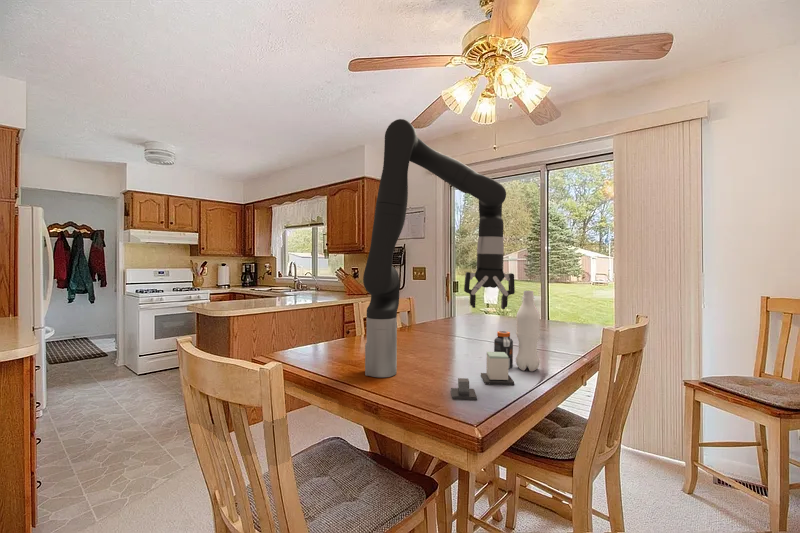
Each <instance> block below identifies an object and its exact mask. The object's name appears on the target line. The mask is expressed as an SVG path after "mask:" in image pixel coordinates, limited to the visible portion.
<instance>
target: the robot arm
mask: <svg viewBox="0 0 800 533" xmlns="http://www.w3.org/2000/svg"><path fill="white" fill-rule="evenodd" d="M383 151H384V152H383V163H382V164H383V166H382V172H381V176H380V182H379V186H378V191H377V196H376V202H375V209H374V217H373V218H374V219H373V224H372V232H371V239H370V248H369V252H368V257H367V260H366V263H365V264H366V265H365V268H364V272H363V278H362V282H363V287H364V289H365V290H366V292H367V293H368V294H369V295H370V301H369V304H368V306H367V308H366V341H365V345H364V350H365V351H364V354H365V355H364V374H365V377H366V376H367V377H368V376H369V377H373V378H389V377H393V376H395V375H396V374H397V372H398V371H397V366H398V365H397V361H398V359H397V355H398V354H397V350H398V349H397V346H398V345H397V342H398V340H397V339H398V333H397V332H398V330H397V328H398V326H397V325H398V322H397V320H398V319H397V318H398V309H399V305H400V284H401V283H400V276H399V273H398V271H397V269H396V268H395V267H394V266H393V260H394V259H393V258H394V251H395V247H396V245H397V242H398V240H399V238H400V236H401V233H402V231H403V228H404V225H405V222H406V216H407V209H408V208H407V207H408V198H409V182H408V181H409V179H408V175H409V174H408V172H409V166H410V162H411V163H413V164H415V165H417V166H419V167H421V168H424V169H425V170H427V171H429V172H430V173H432V174H433V175H435V176H436V177H438V178H439V179H441V180H442V181H444V182H445V183H447V184H448V185H450V186H451V187H453V188H455V189H456V190H458V191H460V192H462V193H463V194H469V195H471V196H472V197H474V198H475V199H477V200H478V214H479V220H478V238H477V239H478V240H477V248H476V271H475V272H469V271H466V272H465V274H464V275H465V276H464V288H463V291H464V292H465V293H467V294H469V305H470V306H471V307H472V308H473V309H476V299H477V298H476V297H477V296H476V294H477V292H478V291H479V290H480V289H481V288H485V289H486V288H493V289H495V288H497V289H498V290H499V292H500V293H501V294H502V295H501V299H500V301H501V302H500V307H501V309H502V310H505V309H506V308H507V307H508V300H509V298H508V297H509V296H511V295H514V294H515V292H516V290H515V289H516V288H515V274H514V273H512V272H511V273H504V254H505V253H504V250H505V245H504V244H505V243H504V242H505V241H504V219H503V218H502V214H503V203H504V202H505V200H506V198H507V191H506V188H505V187H504V186H503V185H502V184H501V183H500V182H498V181H497V180H495V179H493V178H491V177H489V176H486V175H485V174H482V173H479V172H477V171H476V170H474V169H473V168H471V167H470V166H468V165H466V164H465V163H463V162H462V161H460V160H458V159H456V158H454V157H451V156H450V155H446V154H444V153H443V152H440V151H438V150H435V149H434V148H432V147H431V146H429V145H427V144H426V143H425V142H424V141H423V140H422V139H421V138H419V137H418V135H417V131H416V128H415V127H414V126H413V124H412V123H411V122H409V121H408V120H406V119H405V118H403V119H402V118H399V119H396V120H394V121H392V122H390V124H389V125H388V126H387V128H386V131H385V133H384V150H383ZM473 278H475V279H476V281H477V282H476V283H475V284H474V285H473V288H470V285H471V280H473ZM504 278H505V280H506V281H508V286H507V287H508V288H507V290H506V288H505V287H504V284H502V281H503V280H504Z"/></svg>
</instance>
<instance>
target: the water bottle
mask: <svg viewBox="0 0 800 533" xmlns="http://www.w3.org/2000/svg"><path fill="white" fill-rule="evenodd" d="M534 299H535V297H534V290H523V295H522V303H521V305H520V306H519V309H518V310H517V313H516V332H515V334H516V337H517V341H518V352H517V355H516V358H515V362H516V366H517V367H518V368H519V370H520V371H525V370H526V369H528V371H529V372H535V371H536V370H538V368H539V366H540V361H541V360H540V357H539V355H538V349H537V348H538V342H539V339H540V337H541V333H540V324H541V323H540V321H541V314H540V312H539V310H538V308H537V307H536V305H535V304H536V303H535V301H534Z"/></svg>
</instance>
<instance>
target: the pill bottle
mask: <svg viewBox="0 0 800 533" xmlns="http://www.w3.org/2000/svg"><path fill="white" fill-rule="evenodd" d="M496 336H497V337H495V338H494V340H493V341H494V342H493V344H494V345H493V352H505V353H506V354H507V356H508V369H510V368H513V365H514V364H513V363H514V362H513V361H514V360H513V358H514V356H513V355H514V340H513V339H512V338H511V332H509V331H505V330H503V331H502V330H499V331H497V334H496Z"/></svg>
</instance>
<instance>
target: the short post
mask: <svg viewBox="0 0 800 533" xmlns="http://www.w3.org/2000/svg"><path fill="white" fill-rule="evenodd" d="M450 393H451V397H452V398H451V399H452V400H455V401H457V400H461V401H477V400H478V397H477V396H478V395H477V393H476V391H475V388H470V380H469V378H466V377H465V378H464V377H463V378H460V377H459V378H457V388H456V387H451V388H450Z"/></svg>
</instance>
